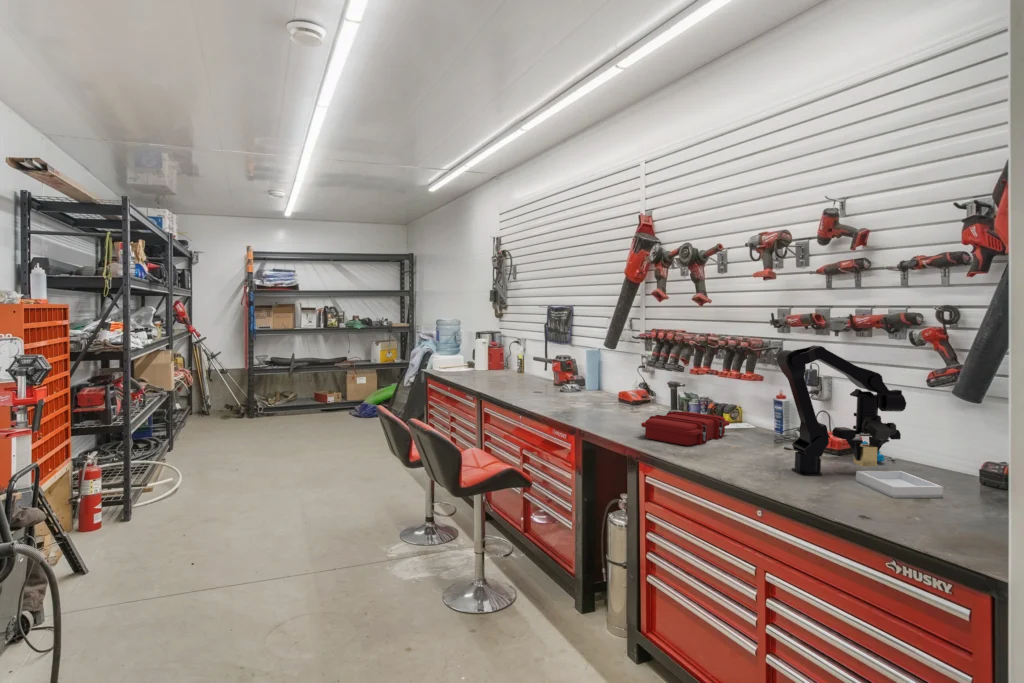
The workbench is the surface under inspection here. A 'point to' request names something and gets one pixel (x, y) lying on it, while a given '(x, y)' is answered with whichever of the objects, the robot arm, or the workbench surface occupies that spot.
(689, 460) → the workbench surface
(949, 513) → the workbench surface
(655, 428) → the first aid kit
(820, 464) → the robot arm
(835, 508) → the workbench surface
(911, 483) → the parts tray
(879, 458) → the blue plastic figure
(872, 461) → the brass block
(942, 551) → the workbench surface
